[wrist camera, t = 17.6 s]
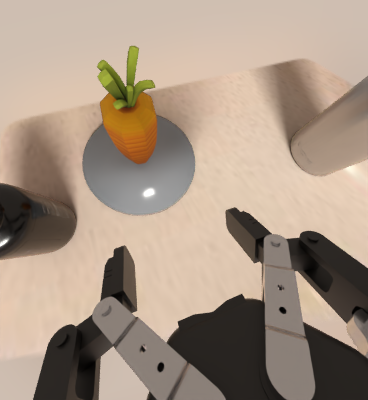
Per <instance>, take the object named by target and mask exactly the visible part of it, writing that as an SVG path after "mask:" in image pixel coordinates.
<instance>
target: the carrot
mask: <svg viewBox="0 0 368 400" xmlns="http://www.w3.org/2000/svg"><path fill="white" fill-rule="evenodd" d="M138 51H139V48H137V47H136V46H130V48H129V51H128V58H127V86H126V87H125V86H124V83H123V82H122V80H121V78H120V76H119V75H118V74H117V73H116V72H115V71H114V69H113V68H112V67H111V66H110V65H109V64H108V63H107V62H106V61H105V60H102V61H100V62H99V63H98V66H97V67H98V68H99V69H100V70H101V72H100V73H99V75H98V78H99V80H100V82H101V84H102V85H103V87H104V88H105V89H106V90H107V91H108V92H109V93H108V94H107V95H106V96H105V98H104V99H103V100H102V101H101V102H100V107H101V112H102V118H103V123H104V127H105V129H106V131H107V132H108V134H109V136H110V138H111V139H112V141H113V143H114V144H115V146H116V147H117V149H118V150H119V151H120V152H121V153H122V154H123V155H124V156H125V157H126V158H128V159H130V160H131V161H133V162H134V163H136V164H143V163H146V162H147V161H148V159H149V158H150V157H151V155H152V154H153V151H154V149H155V145H156V141H157V118H156V113H155V109H154V105H153V101H152V98H151V97H150V96H149V95H147V94H145V93H144V92H143V91H144V90H146V89H151V88H155V85H154V83H153V81H152V80H144V81H139V82H138V83H137V84H136V85H135V86H134V79H135V72H136V65H137V59H138Z"/></svg>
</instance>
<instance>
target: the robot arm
mask: <svg viewBox="0 0 368 400" xmlns="http://www.w3.org/2000/svg"><path fill="white" fill-rule="evenodd" d="M291 152H292V155H293V158H294V160H295V161H296V163H297V164H298V165H299V166H300V167H301V168H302V169H303V170H304V171H306V172H308V173H310V174H312V175H316V176H325V175H328V174H331V173H333V172H336V171H339V170H341V169H344V168H346V167H349V166H352V165H354V164H357V163H360V162H362V161H365V160H367V159H368V76H367V77H366V78H364V79H363V80H362V81H361V82H359V83H358V84H357V85H356V86H354V87H353V88H352V89H351V90H349V91H348V92H347V93H346V94H344V95H343V96H342V97H341V98H339V99H338V100H337V101H335V102H334V103H333V104H332V105H330V106H329V107H328V108H327V109H325V110H324V111H323V112H322V113H320V114H319V115H318V116H317V117H315V118H314V119H313V120H311V121H310V122H309V123H308V124H306V125H305V126H304V127H303V128H301V129H300V130H299V131H298V132H297V133H296V134H295V135H294V136H293V138H292V141H291ZM226 225H227V228H228V231H229V232H230V234H231V235H232V236H233V237H234V239H235V240H236V241H237V242H238V244H239V245H240V246H241V247H242V248H243V250H244V251H245V252H246V253H247V255H248V256H249V257H250V258H251V260H252V261H253V262H254V263H257V262H259V261H260V262H261V264H262V295H261V300H257V299H245V298H244V296H243V295H242V294H241V295H238V296H236V297H234V298H231V299H229V300H227V301H226V302H224V303H223V304H222V305H221V306H220V307H218V308H217V309H216V310H215V311H214V312H211V313H203V314H195V315H192V316H190V317H187V318H185V319H183V320H181V321H178V325H179V328H178V329H176V330H175V331H174V332H173V334H172V335H171V336H170V338H169V339H168V341H167V343H166V342H165V341H164V340H163V339H161V338H160V337H159V336H158V335H157V334H156V333H155V332H154V331H153V330H152V329H150V328H149V327H148V326H147V325H146V324H145V323H144V322H143V321H142V320H140V319H139V318H138V317H135V316H134V315H133V314H132V313H133V312H135V311H137V298H136V279H135V265H134V261H133V259H132V257H131V255H130V253H129V251H128V249H127V247H126V246H125V245H124V246H121V247H119V248H116V249H114V255H113V257H112V258H109V259H108V261H107V263H106V265H105V270H104V279H103V286H102V293H101V301H100V302H99V303H98V304H97V306H96V307H95V309H94V311H93V314H92V315H91V316H90V317H89V318H87V319H86V320H85V321H83V322H82V323H80V324H79V325H78V326H74V325H72V324H70V325H66V326H64V327H62V328H61V329H60V330H58V331H57V332H56V333H55V334H54V336H53V337H52V338H51V340H50V342H49V344H48V347H47V350H46V354H45V358H44V361H43V365H42V369H41V373H40V376H39V380H38V383H37V387H36V391H35V394H34V398H33V400H98V399H99V379H100V359H101V356H102V355H103V354H104V353H106V352H107V351H108V350H109V349H110V348H111V347H113V346H114V348H115V349H116V351H117V352H118V353H119V354H120V355H121V357H122V358H123V359H124V360H125V362H126V363H127V364H128V365H129V366H130V368H131V369H132V370H133V371H134V372H135V373H136V375H137V376H138V377H139V379H140V380H141V381H142V382H143V383H144V385H145V386H146V387H147V388H148V390H149V394H148V397H147V400H368V268H367V267H365V266H364V265H362V264H361V263H360V262H358V261H357V260H356V259H354V258H353V257H351V256H350V255H349V254H347V253H346V252H345V251H343V250H342V249H341V248H339V247H338V246H336V245H335V244H334V243H332V242H331V241H330V240H328V239H327V238H326V237H324V236H323V235H321V234H319V233H317V232H314V231H304V232H302V233H301V234H300V237H299V238H291V239H285V238H284V237H282V236H280V235H276V234H272V233H270V232H269V231H268V230H267V229H266V228H265V227H264V226H263V225H262V224H260V223H259V222H258V221H257V220H256V219H254V217H253V216H251V215H250V214H249V213H246V212H244V211H242V212H240V211H239V210H238V209H237V208H235V207H234V208H231V209H228V210H226ZM295 271H298V272H299V273H300V274H301V275H302V276H303V277H304V278H305V279H306V280H307V282H308V283H309V284H310V285H311V286H312V287H313V288H314V289H315V290H316V291H317V292H318V293H319V294H320V295H321V297H322V298H323V299H324V300H325V301H326V302H327V303H328V304H329V305H330V306H331V307H332V308H333V309H334V310H335V312H336V313H337V314H338V315H339V316H340V317H341V318H342V319H343V320H344V321H345V322H346V323H347V326H346V327H347V332H348V334H349V336H350V338H351V339H352V340H353V343H354V344H355V345H356V346H357V348H358V351H357V350H356V349H354V348H352V347H351V346H348V345H347V344H345V343H343V342H341V341H339V340H337V339H335V338H333V337H331V336H329V335H327V334H326V333H324V332H322V331H320V330H318V329H316V328H314V327H312V326H310V325H308V324H306V323H304V322H303V319H302V313H301V307H300V301H299V294H298V288H297V282H296V276H295Z"/></svg>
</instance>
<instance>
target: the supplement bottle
mask: <svg viewBox="0 0 368 400" xmlns="http://www.w3.org/2000/svg"><path fill="white" fill-rule="evenodd" d="M75 228H76V218H75V215H74V213H73V211H72V210H71V209H70V208H69V207H68V206H67V205H66V204H64V203H62V202H59V201H57V200H54V199H51V198H48V197H45V196H42V195H39V194H36V193H33V192H30V191H27V190H24V189H21V188H19V187H16V186H12V185H8V184H4V183H0V260H5V259H12V258H19V257H26V256H32V255H39V254H46V253H50V252H54V251H56V250H58V249H60V248H62V247H63V246H65V245H66V244H67V243H68V242H69V241H70V239H71V238H72V236H73V234H74V232H75Z"/></svg>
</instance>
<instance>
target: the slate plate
mask: <svg viewBox="0 0 368 400" xmlns="http://www.w3.org/2000/svg"><path fill="white" fill-rule="evenodd" d="M156 118H157V141H156V145H155V149H154V151H153V154H152V155H151V157H150V158H149V159H148V161H147V162H146V163H143V164H136V163H134V162H133V161H131V160H130V159H128V158H126V157H125V156H124V155H123V154H122V153H121V152H120V151H119V150H118V149H117V147H116V146H115V144H114V143H113V141H112V139H111V138H110V136H109V134H108V132H107V131H106V129H105V127H104V124H103V125H101V126H100V127H99V128H98V129H97V130H96V131H95V132H94V133H93V135H92V136H91V137H90V139H89V141H88V142H87V145H86V147H85V150H84V154H83V162H82V163H83V173H84V177H85V180H86V182H87V184H88V186H89V188H90V190H91V191H92V192H93V194H94V195H95V196H96V197H97V198H98V199H99V200H100V201H101V202H103V203H104V204H105V205H107V206H108V207H110V208H112V209H114V210H116V211H118V212H121V213H124V214H128V215H136V216H142V215H151V214H155V213H159V212H161V211H164V210H166V209H168V208H169V207H171V206H173V205H174V204H175V203H177V202H178V201H179V200H180V199H181V198H182V197H183V195H184V194H185V193H186V191H187V190H188V188H189V186H190V184H191V182H192V179H193V176H194V171H195V156H194V152H193V149H192V146H191V144H190V142H189V140H188V138H187V137H186V135H185V134H184V133H183V132H182V131H181V129H179V128H178V127H177V126H176V125H175V124H173V123H172V122H170V121H169V120H167V119H165V118H162V117H160V116H157V115H156Z"/></svg>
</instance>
